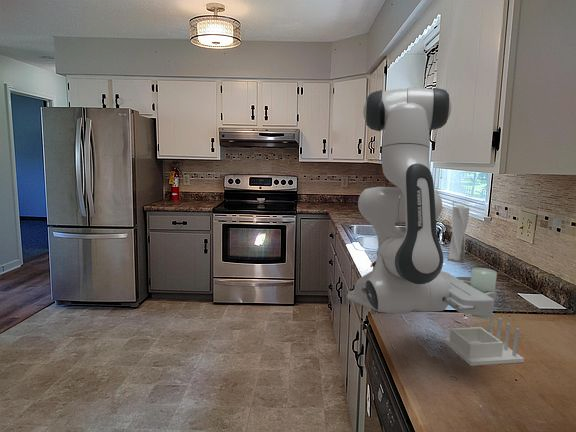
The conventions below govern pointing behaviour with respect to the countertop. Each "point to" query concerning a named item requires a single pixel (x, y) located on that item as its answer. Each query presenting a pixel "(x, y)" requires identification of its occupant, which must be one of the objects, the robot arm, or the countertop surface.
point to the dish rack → (484, 345)
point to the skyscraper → (458, 233)
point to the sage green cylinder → (483, 283)
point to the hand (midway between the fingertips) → (485, 290)
